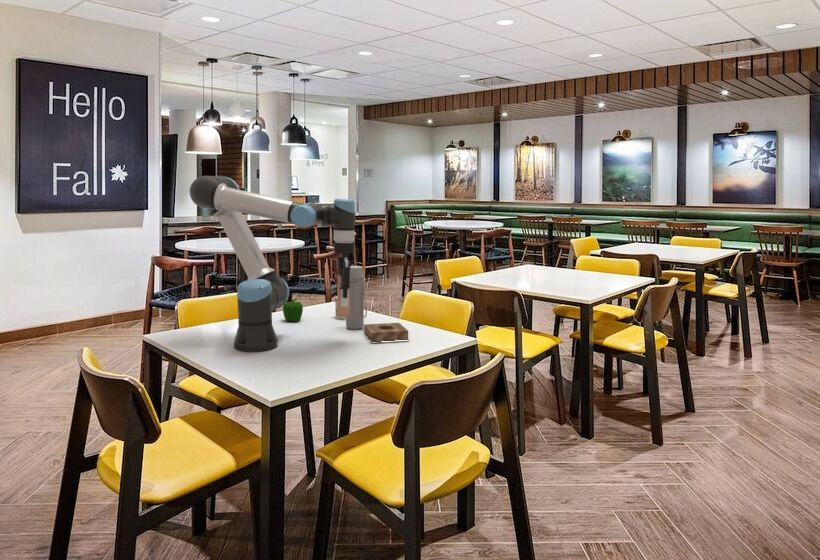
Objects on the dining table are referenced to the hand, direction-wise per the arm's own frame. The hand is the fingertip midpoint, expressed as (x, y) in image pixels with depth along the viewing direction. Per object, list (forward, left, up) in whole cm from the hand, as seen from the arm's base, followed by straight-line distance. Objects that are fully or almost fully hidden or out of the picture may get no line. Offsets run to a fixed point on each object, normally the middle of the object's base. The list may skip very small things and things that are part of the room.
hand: (343, 305), depth 228 cm
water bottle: (+8, +20, -14) cm, 26 cm away
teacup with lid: (+8, +40, -14) cm, 43 cm away
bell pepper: (-16, +39, -14) cm, 44 cm away
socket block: (+16, +2, -14) cm, 21 cm away
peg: (0, 0, -3) cm, 3 cm away
